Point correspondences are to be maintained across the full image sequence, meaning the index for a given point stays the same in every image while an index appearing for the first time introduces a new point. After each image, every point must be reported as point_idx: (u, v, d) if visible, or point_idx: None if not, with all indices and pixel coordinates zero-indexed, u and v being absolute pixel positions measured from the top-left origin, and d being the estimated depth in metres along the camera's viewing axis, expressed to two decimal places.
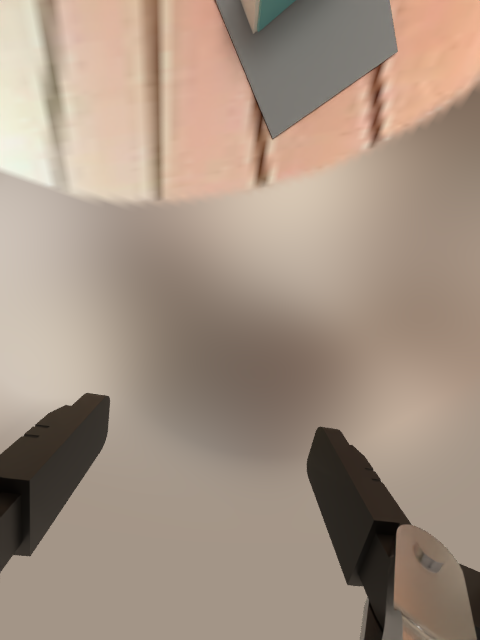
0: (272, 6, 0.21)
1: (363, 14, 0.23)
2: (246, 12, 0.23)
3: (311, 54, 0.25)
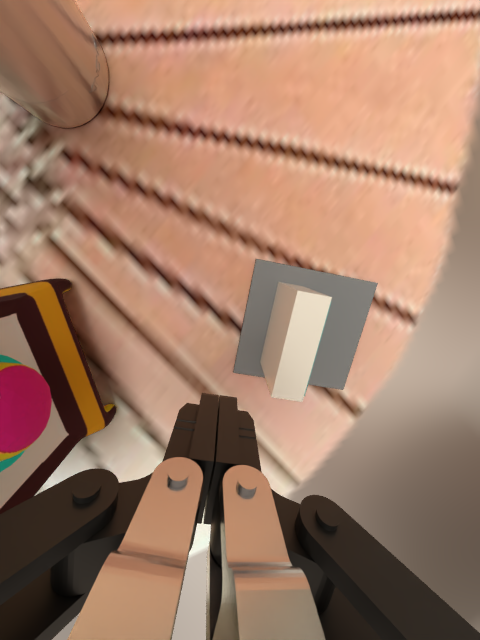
0: None
1: (337, 295, 0.29)
2: None
3: (325, 337, 0.30)
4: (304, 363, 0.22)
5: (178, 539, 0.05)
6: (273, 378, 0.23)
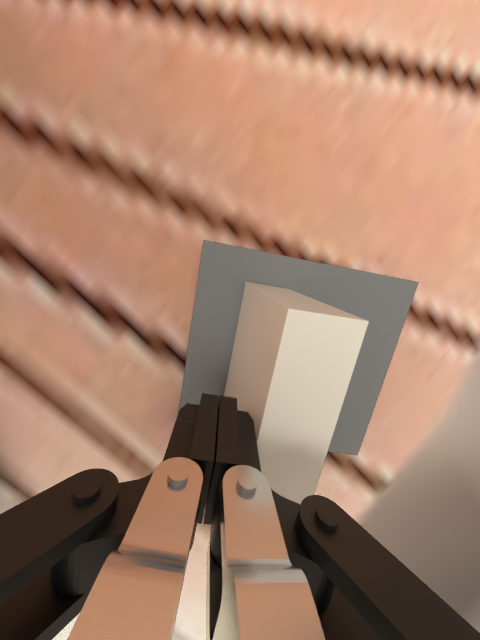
0: None
1: (349, 304, 0.17)
2: None
3: None
4: (304, 466, 0.10)
5: (178, 539, 0.05)
6: None
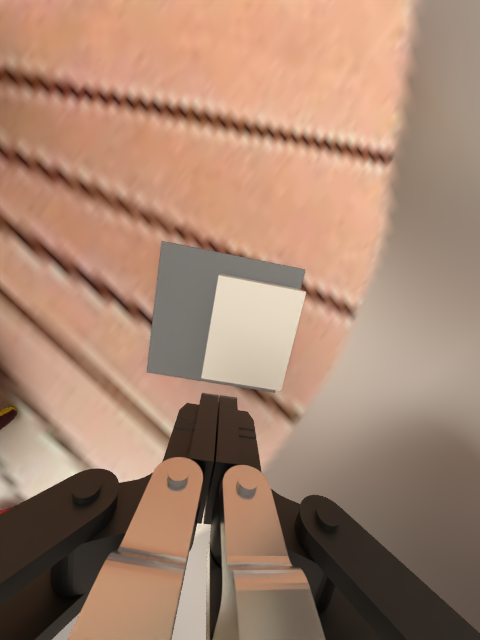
0: None
1: None
2: None
3: None
4: None
5: (178, 539, 0.05)
6: (277, 375, 0.24)
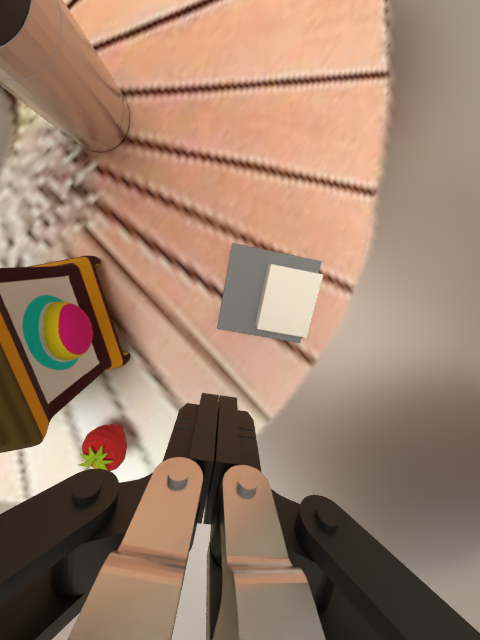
0: None
1: None
2: None
3: None
4: None
5: (178, 539, 0.05)
6: (304, 327, 0.38)
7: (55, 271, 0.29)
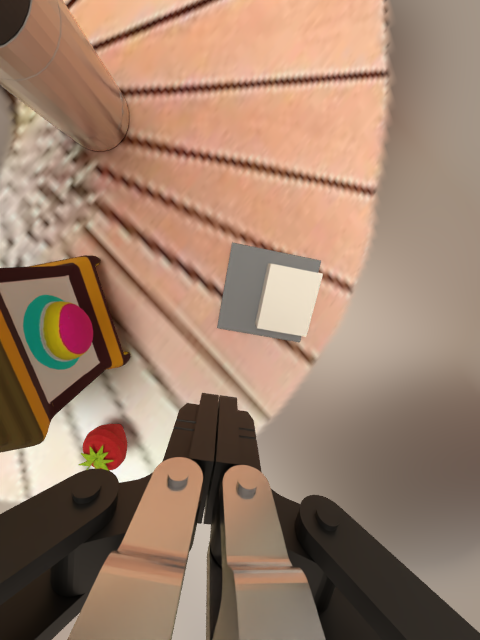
0: None
1: None
2: None
3: None
4: None
5: (178, 539, 0.05)
6: (304, 326, 0.38)
7: (55, 271, 0.29)
